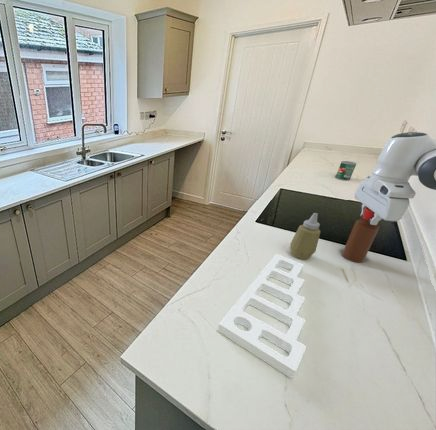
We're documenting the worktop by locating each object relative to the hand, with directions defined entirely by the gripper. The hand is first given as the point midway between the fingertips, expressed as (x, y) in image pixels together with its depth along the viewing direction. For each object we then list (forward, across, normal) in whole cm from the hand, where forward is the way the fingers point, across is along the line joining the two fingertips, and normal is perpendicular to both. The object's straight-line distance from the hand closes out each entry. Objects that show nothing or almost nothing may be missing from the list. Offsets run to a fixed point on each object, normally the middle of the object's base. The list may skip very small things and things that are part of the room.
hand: (368, 220), depth 92 cm
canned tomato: (+16, -103, +38) cm, 111 cm away
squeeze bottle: (+16, +4, -18) cm, 24 cm away
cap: (-1, 0, 0) cm, 1 cm away
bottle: (+16, 0, +1) cm, 16 cm away
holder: (+16, +34, -32) cm, 49 cm away
